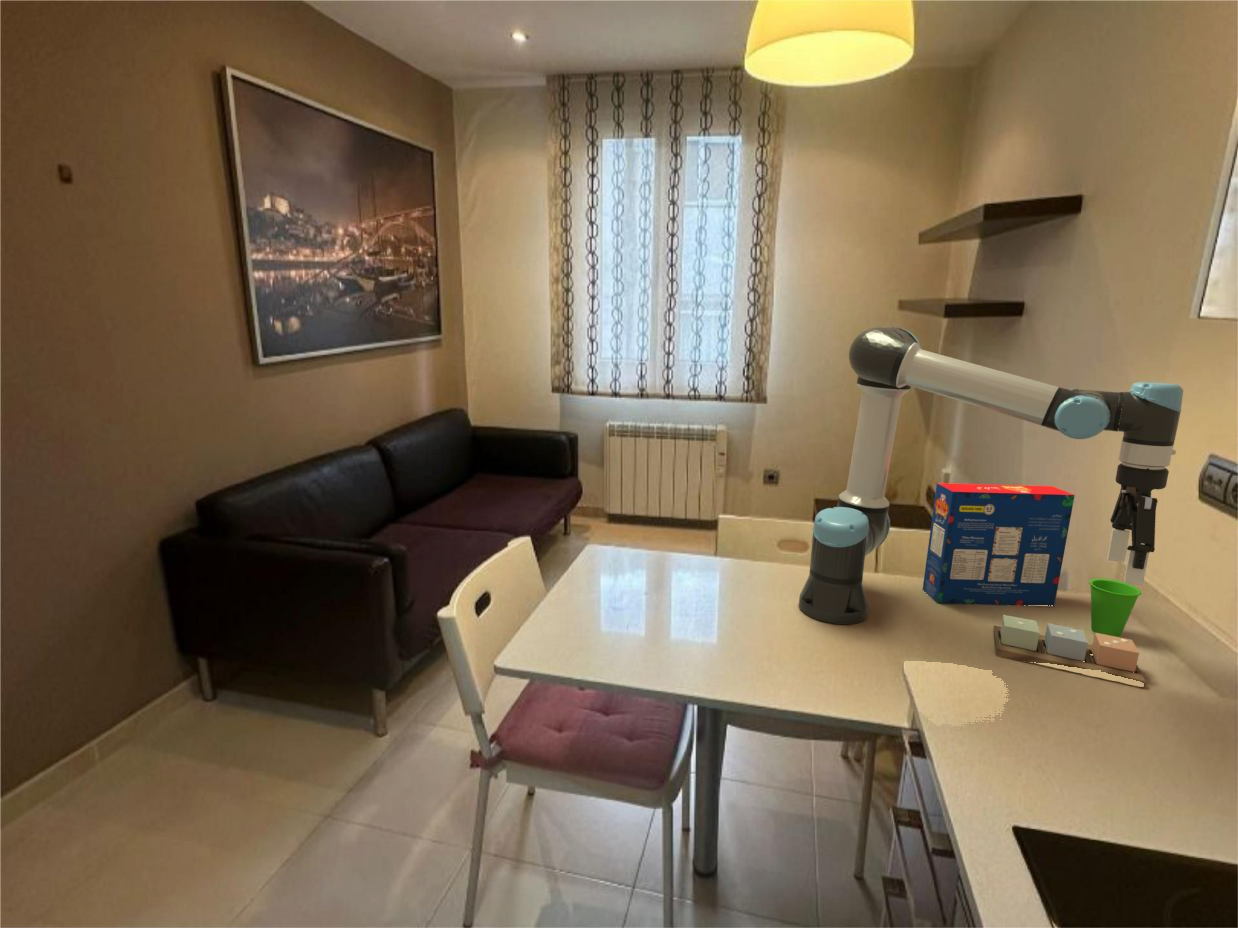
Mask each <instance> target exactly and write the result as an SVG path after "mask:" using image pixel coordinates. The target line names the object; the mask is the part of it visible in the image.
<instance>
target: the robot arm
mask: <svg viewBox="0 0 1238 928" xmlns="http://www.w3.org/2000/svg"><path fill="white" fill-rule="evenodd" d="M848 362H849V364H850V367H851V368H852V371H853V372H854V373H855V374H856V375H857V380H856V386H857V387H858V388H859V390H860V391H861V399H860V404H859V411H858V415H857V422H856V423H857V424H856V428H855V429H856V430H855V433H854V434H855V435H854V441H853V447H852V454H851V459H850V460H851V461H850V466H849V471H848V472H849V473H848V478H847V484H846V489H845V490H844V491H842V492H841V493H839V494H838V499H837V506H834V507H832V508H831V507H827V508H825V509H822V510H820V511H819V512H818V513H816V515H815V518H814V521H813V522H814V523H813V526H812V541H811V551H810V564H809V565H810V566H809V574H808V577H807V579H806V581H805V584H804V585H803V587H802V589H801V592H800V593H799V597H798V608H799V609H800V610H801V612H802V613H803V614H805V615H807V616H808V617H811V618H813V619H816V621H821V622H825V623H830V624H835V625H836V624H837V625H852V624H858V623H862V622H863V621H864V620H866V619H867V615H868V603H867V597H866V593H865V589H864V585H863V577H864V568H865V561H866V557H867V556H868V555H869V554H871V553H872V552H873V551H874V550H875V549H877V548H879V547H880V546H882V544H883V543H884V542H885V540H886V539H887V537H888V535H889V533H890V529H891V519H890V517H889V508H890V502H889V500H888V499H887V497H885V492H886V487H887V486H886V485H887V480H888V476H889V471H890V465H891V459H892V452H893V447H894V443H895V436H896V431H897V426H898V425H897V424H898V419H899V415H900V414H899V413H900V409H901V402H902V397H903V396H905V394H907V393H908V392H910V391H911V388H915V389H919V390H922V391H926V392H929V393H932V394H935V395H939V396H943V397H945V398H948V399H952V400H956V401H958V402H962V403H965V404H969V405H972V406H976V407H979V408H981V409H986V410H988V411H992V412H996V413H999V414H1003V415H1006V416H1010V417H1012V418H1014V419H1015V418H1016V419H1019V420H1022V421H1026V422H1030V423H1033V424H1036V425H1039V426H1041V427H1045V428H1047V429H1050V430H1054V431H1057V432H1060V433H1061V434H1063V435H1064V436H1065V437H1068V438H1070V439H1074V440H1086V439H1090V438H1093V437H1095V436H1097V435H1099V434H1101V433H1102V432H1103V431H1105V432H1106V431H1107V432H1108V431H1110V432H1119V433H1120V432H1122V433H1123V436H1122V440H1121V444H1120V450H1119V455H1118V461H1119V462H1121V463H1119V464H1118V465H1117V470H1116V474H1115V482H1116V484H1118V485H1120V492H1119V493H1118V494H1119V495H1118V497H1117V500H1116V502H1115V506H1114V509H1113V512H1112V515H1111V518H1110V523H1112V524H1111V526H1112V530H1111V535H1110V540H1109V545H1108V546H1109V547H1108V552H1107V556H1106V557H1107V559H1106V560H1107V561H1112V562H1119V563H1125V561H1126V556H1128V557H1127V561H1126V566H1125V572H1124V577H1123V578H1124V579H1123V582H1124V583H1127V584H1130V585H1133V586H1134V585H1136V586H1144V581H1145V575H1146V570H1147V565H1148V561H1149V560H1148V559H1149V555H1150V553H1154V552H1155V549H1156V548H1155V543H1156V542H1155V541H1156V513H1157V512H1156V511H1157V506H1158V505H1157V504H1158V501H1159V500H1158V498H1156V497H1152V491H1153V490H1157V491H1158V490H1163V489H1165V488H1166V487H1167V484H1168V477H1169V472H1170V471H1169V469H1168V468H1167V467H1168V466H1170V465H1171V461H1172V456H1174V455H1176V454H1177V451H1176V449H1174V445H1175V440H1176V436H1177V431H1178V427H1179V422H1180V416H1181V412H1182V402H1183V396H1184V395H1183V394H1184V389H1183V388H1182V386H1180V384H1176V383H1171V382H1170V383H1169V382H1153V381H1151V382H1149V381H1148V382H1147V381H1139V382H1138V381H1137V382H1134V383H1132V385H1131V388H1130V389H1129V391H1105V390H1093V389H1091V390H1090V389H1079V388H1072V389H1071V388H1068V389H1067V388H1064V387H1060V386H1056V385H1053V384H1049V383H1046V382H1042V381H1039V380H1035V379H1030V378H1027V377H1025V376H1024V377H1023V376H1020V375H1016V374H1013V373H1009V372H1005V371H1002V370H999V369H998V370H997V369H994V368H991V367H990V368H989V367H987V366H984V365H979V364H975V363H973V362H969V361H965V360H961V359H957V358H954V357H950V356H946V355H943V354H939V353H936V352H931V351H930V350H929V351H928V350H924V349H922V346H921V344H920V341H919V339H918V338H917V337H916V336H915V335H914V334H913V333H912V332H910V331H909V330H907V329H904V328H902V327H896V326H887V327H883V326H878V327H876V326H875V327H871V328H868V329H866V330H864V331H862V332H860V333H859V334H858V335H857V336H856V337H855V338H854V339H853V340H852V342H851V345H850V347H849V350H848ZM1130 531H1131V532H1130ZM1130 533H1131V545H1128V544H1129V538H1130ZM1127 551H1128V555H1127Z"/></svg>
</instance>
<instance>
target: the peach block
mask: <svg viewBox="0 0 1238 928" xmlns="http://www.w3.org/2000/svg"><path fill="white" fill-rule="evenodd" d="M1091 645H1092V649H1091V652H1092V654H1093V656H1094V657H1093V658H1094V661H1095V663H1096V664H1095V665H1100V666H1104V667H1109V668H1114V669H1118V670H1123V671H1128V672H1135V670H1136V665H1137V666H1138V659H1139V655H1140V653H1139V650H1138V648H1137V647H1136V645H1135V642H1134V641H1133V640H1132V639H1129V638H1125V637H1121V636H1119V637H1115V636H1110V635H1105V634H1100V633H1093V640H1092V644H1091Z"/></svg>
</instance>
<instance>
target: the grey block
mask: <svg viewBox="0 0 1238 928" xmlns="http://www.w3.org/2000/svg"><path fill="white" fill-rule="evenodd" d="M1045 630H1046V631H1045V634H1044V635H1045V645H1046V647H1045V649H1046V651H1047V652H1046V653H1047V654H1048V655H1053V656H1058V657H1062V658H1067V659H1072V660H1076V661H1081V662H1083V661H1084V659H1085V654H1086V649H1087V644H1089V642H1088V640H1087V637H1086V634H1085V632H1084V630H1082V629H1078V628H1074V627H1068V626H1063V625H1058V624H1053V623H1048V622H1047V626H1046V629H1045Z"/></svg>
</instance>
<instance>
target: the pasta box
mask: <svg viewBox="0 0 1238 928" xmlns="http://www.w3.org/2000/svg"><path fill="white" fill-rule="evenodd" d="M933 501H934V502H933V510H932V515H931V517H932V518H931V524H930V529H929V530H930V531H929V538H928V547H927V553H926V560H925V570H924V574H923V575H924V577H923V583H922V591H923V590H924V591H923V592H924V593H925V592H926V593H925V594H926V595H927V594H928V595H927V596H929V597H930V598H931V599H932V600H933V601H934V602H935V603H936V604H941V605H942V604H943V605H944V604H947V605H949V604H950V605H979V606H983V605H984V606H1008V605H1010V606H1011V607H1012V606H1013V607H1029V606H1028V605H1048V606H1049V605H1050V606H1051V605H1053V606H1054V607H1055V606H1056V599H1057V594H1058V588H1059V583H1060V578H1061V571H1062V566H1063V561H1064V554H1065V551H1066V544H1067V539H1068V533H1069V528H1070V522H1071V517H1072V512H1073V505H1074V501H1075V494H1074V493H1071V492H1068V491H1065V490H1063V489H1061V488H1058V487H1056V486H1052V485H1051V486H1050V485H1020V484H1019V485H1015V484H981V483H979V484H978V483H942V482H941V483H940V482H936V486H935V495H934V499H933ZM1018 605H1019V606H1018ZM1024 605H1026V606H1024ZM1008 607H1009V606H1008Z"/></svg>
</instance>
